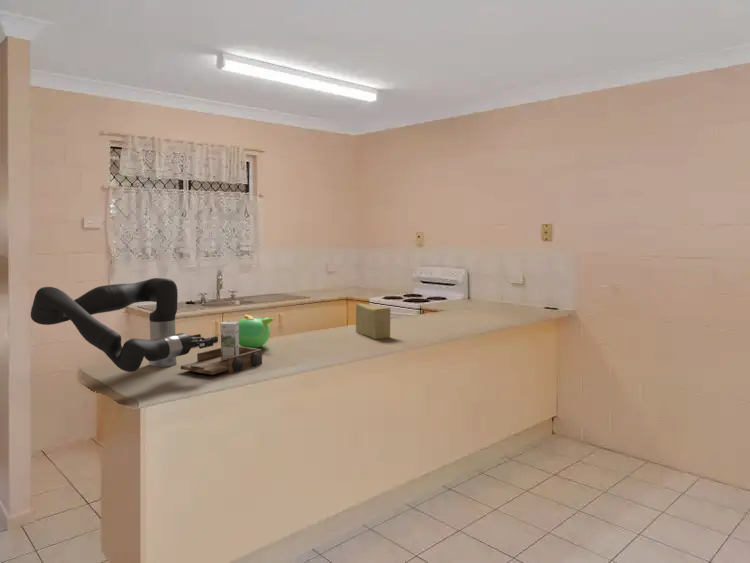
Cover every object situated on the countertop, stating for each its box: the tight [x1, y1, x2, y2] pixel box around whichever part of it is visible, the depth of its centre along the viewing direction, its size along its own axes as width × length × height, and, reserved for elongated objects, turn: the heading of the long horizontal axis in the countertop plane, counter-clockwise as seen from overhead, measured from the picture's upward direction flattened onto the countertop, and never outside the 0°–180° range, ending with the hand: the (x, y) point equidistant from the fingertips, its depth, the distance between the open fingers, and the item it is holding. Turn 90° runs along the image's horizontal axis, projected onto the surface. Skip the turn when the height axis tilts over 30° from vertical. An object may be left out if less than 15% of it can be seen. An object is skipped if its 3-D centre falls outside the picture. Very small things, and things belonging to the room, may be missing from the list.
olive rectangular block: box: [355, 302, 391, 340], centre depth 284 cm, size 22×10×15 cm, turn 37°
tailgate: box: [180, 361, 228, 376], centre depth 209 cm, size 16×8×2 cm, turn 60°
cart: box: [196, 345, 263, 374], centre depth 220 cm, size 18×18×6 cm
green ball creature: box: [237, 314, 275, 349], centre depth 253 cm, size 18×17×15 cm
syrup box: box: [220, 320, 240, 361], centre depth 219 cm, size 6×6×14 cm
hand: (208, 338), depth 210 cm, fingers open, 8 cm apart
